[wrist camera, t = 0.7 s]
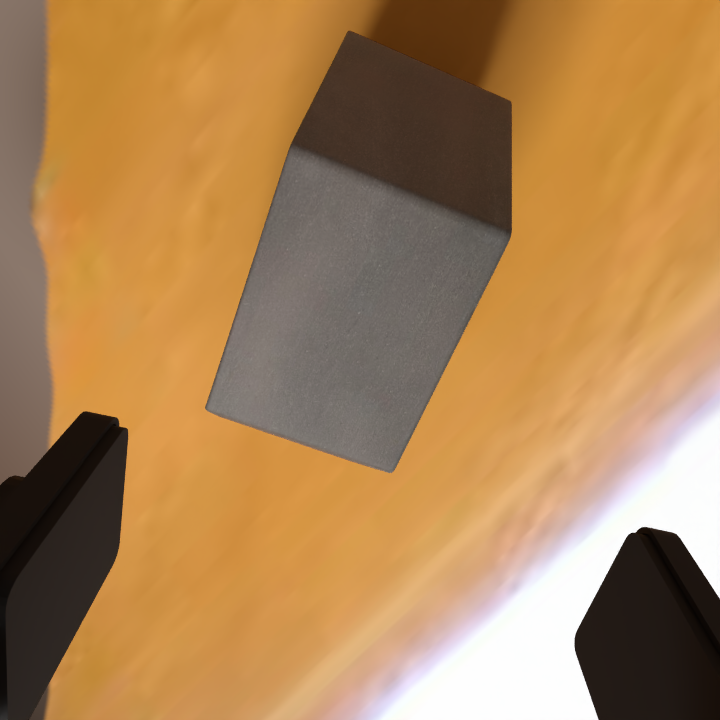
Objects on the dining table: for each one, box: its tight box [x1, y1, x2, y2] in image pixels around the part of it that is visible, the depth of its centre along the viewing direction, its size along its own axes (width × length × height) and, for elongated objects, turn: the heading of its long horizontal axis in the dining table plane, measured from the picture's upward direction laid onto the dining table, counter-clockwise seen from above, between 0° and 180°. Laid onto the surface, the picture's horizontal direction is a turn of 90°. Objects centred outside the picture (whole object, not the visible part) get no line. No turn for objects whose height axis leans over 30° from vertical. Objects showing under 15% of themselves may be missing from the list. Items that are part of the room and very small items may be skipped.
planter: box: [205, 31, 512, 473], centre depth 30 cm, size 17×8×21 cm
